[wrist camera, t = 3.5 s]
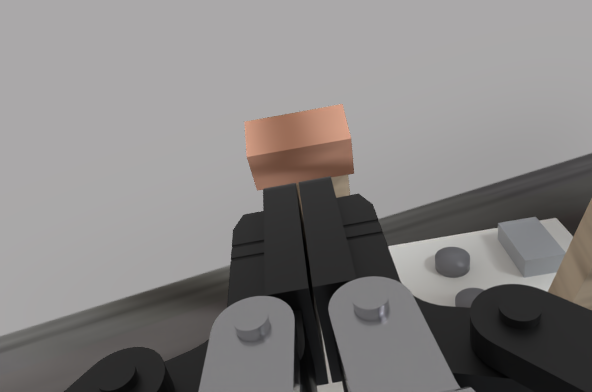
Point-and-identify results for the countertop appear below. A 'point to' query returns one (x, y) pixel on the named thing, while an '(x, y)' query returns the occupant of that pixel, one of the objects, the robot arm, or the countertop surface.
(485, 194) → the countertop surface
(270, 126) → the brown long rectangular block
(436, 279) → the panel
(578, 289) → the tan wooden post
